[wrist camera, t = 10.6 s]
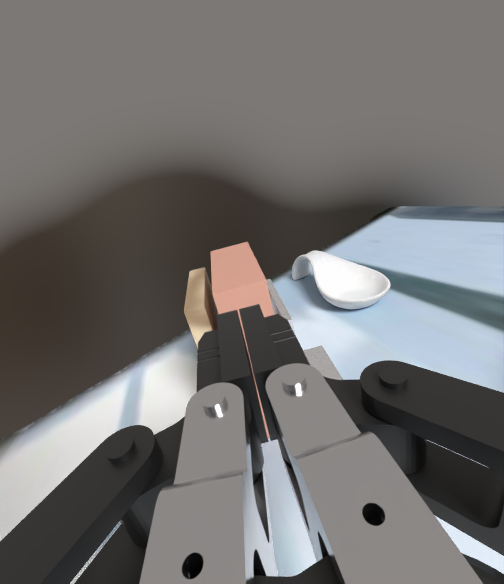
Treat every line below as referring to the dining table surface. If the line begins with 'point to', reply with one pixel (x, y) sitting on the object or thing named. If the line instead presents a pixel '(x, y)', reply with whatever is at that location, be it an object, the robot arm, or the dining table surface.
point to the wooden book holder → (200, 304)
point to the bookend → (313, 355)
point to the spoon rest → (342, 280)
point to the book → (239, 284)
